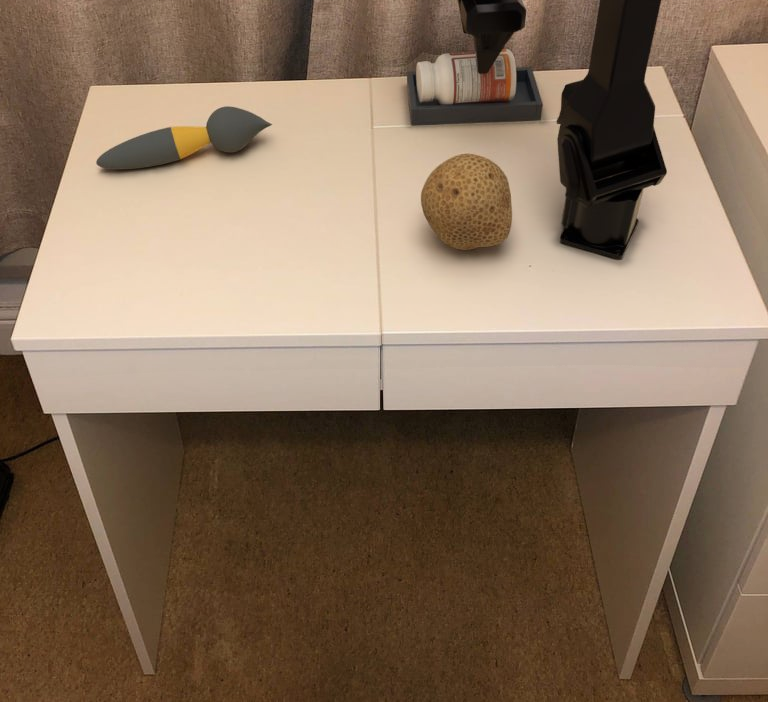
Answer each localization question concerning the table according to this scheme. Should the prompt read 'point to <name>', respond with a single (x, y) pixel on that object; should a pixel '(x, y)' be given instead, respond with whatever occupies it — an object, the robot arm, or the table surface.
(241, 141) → the paintbrush
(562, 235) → the robot arm
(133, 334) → the table surface
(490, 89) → the pill bottle
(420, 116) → the tray
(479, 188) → the natural sponge
